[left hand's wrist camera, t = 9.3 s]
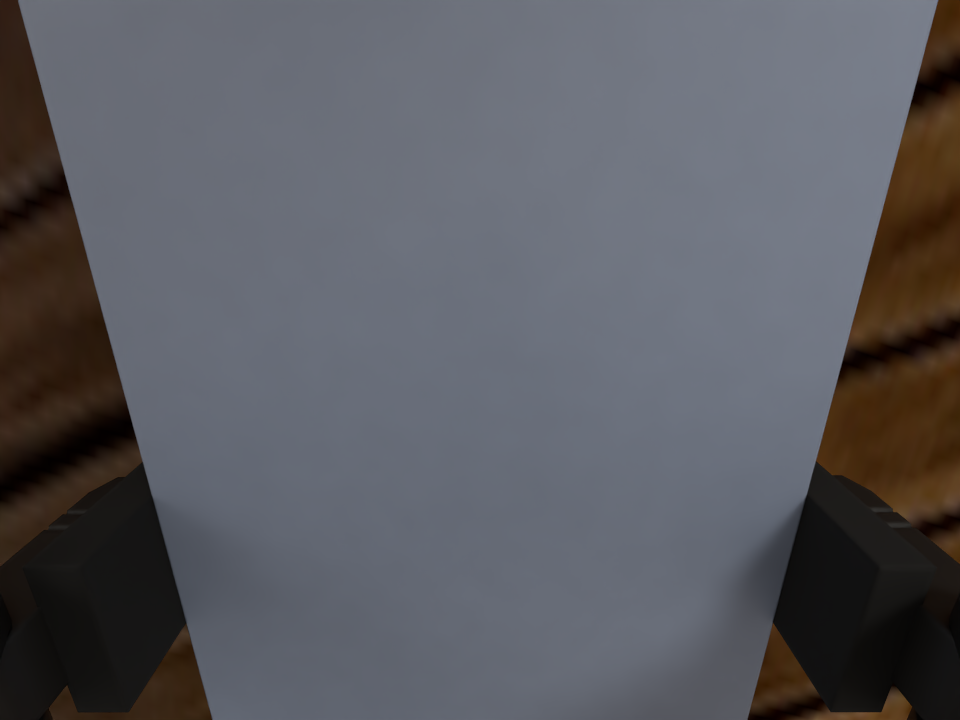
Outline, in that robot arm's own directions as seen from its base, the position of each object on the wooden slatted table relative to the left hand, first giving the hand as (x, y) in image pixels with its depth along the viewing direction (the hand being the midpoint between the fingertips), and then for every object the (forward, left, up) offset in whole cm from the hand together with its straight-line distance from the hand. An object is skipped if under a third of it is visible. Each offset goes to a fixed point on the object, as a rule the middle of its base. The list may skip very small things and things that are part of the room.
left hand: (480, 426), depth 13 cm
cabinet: (+2, +4, -6) cm, 8 cm away
